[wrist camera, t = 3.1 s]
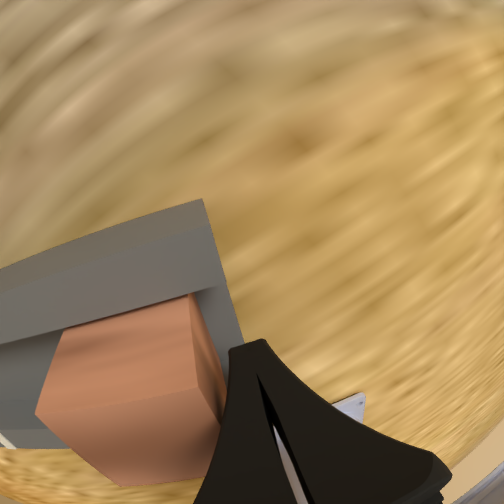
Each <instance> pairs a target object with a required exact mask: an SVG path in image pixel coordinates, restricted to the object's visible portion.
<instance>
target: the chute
mask: <svg viewBox="0 0 504 504" xmlns="http://www.w3.org/2000/svg"><path fill="white" fill-rule="evenodd" d="M192 292H194V294H195V297H196V299H197V302H198V305H199V307H200V310H201V313H202V315H203V318H204V321H205V323H206V326H207V328H208V331H209V334H210V336H211V339H212V341H213V344H214V346H215V349H216V351H217V354H218V356H219V359H220V363H221V368H222V372H223V377H224V381H225V385H226V390H227V386H228V374H229V356H228V351H229V349H230V348H232V347H236V346H239V345H242V344H245V343H244V340H243V337H242V333H241V330H240V327H239V324H238V321H237V317H236V314H235V311H234V308H233V304H232V301H231V298H230V294H229V291H228V288H227V284H226V279H225V275H224V272H223V268H222V265H221V261H220V258H219V254H218V251H217V247H216V244H215V240H214V237H213V233H212V230H211V226H210V223H209V220H208V216H207V213H206V210H205V207H204V204H203V200H202V199H198V200H195V201H191V202H188V203H185V204H181V205H178V206H175V207H171V208H168V209H165V210H162V211H158V212H155V213H152V214H149V215H146V216H143V217H139V218H136V219H133V220H130V221H127V222H124V223H121V224H118V225H115V226H112V227H109V228H106V229H104V230H101V231H98V232H95V233H92V234H89V235H87V236H84V237H81V238H78V239H76V240H73V241H70V242H67V243H65V244H62V245H59V246H57V247H54V248H52V249H49V250H46V251H44V252H41V253H39V254H36V255H34V256H31V257H29V258H26V259H24V260H21V261H19V262H17V263H14V264H12V265H9V266H7V267H5V268H2V269H0V447H6V448H7V449H17V448H26V449H70V447H69V446H67V445H66V444H65V443H64V442H63V441H62V440H61V439H60V438H59V437H57V436H56V435H55V434H54V433H53V432H52V431H51V430H50V429H49V428H48V427H47V426H46V425H45V424H44V423H43V422H42V421H41V420H40V419H39V418H38V417H37V416H36V415H35V410H36V407H37V404H38V400H39V397H40V394H41V391H42V388H43V385H44V382H45V379H46V376H47V373H48V370H49V368H50V365H51V362H52V359H53V357H54V354H55V352H56V349H57V346H58V344H59V341H60V339H61V336H62V334H63V331H64V329H65V328H66V327H70V326H73V325H77V324H81V323H85V322H89V321H92V320H96V319H100V318H103V317H107V316H111V315H114V314H118V313H122V312H125V311H129V310H132V309H136V308H140V307H143V306H147V305H150V304H154V303H157V302H161V301H164V300H168V299H171V298H175V297H178V296H182V295H185V294H189V293H192Z"/></svg>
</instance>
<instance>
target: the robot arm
mask: <svg viewBox="0 0 504 504" xmlns="http://www.w3.org/2000/svg"><path fill="white" fill-rule="evenodd" d="M228 356H229V374H228V386H227V395H226V402H225V408H224V413H223V418H222V424H221V428H220V432H219V436H218V440H217V443H216V447H215V450H214V454H213V457H212V459H211V462H210V465H209V468H208V471H207V474H206V476H205V479H204V481H203V483H202V486H201V488H200V490H199V492H198V494H197V497H196V499H195V501H194V503H193V504H443V503H442V501H443V500H444V497H443V496H442V494H441V493H440V490H441V489H442V488H443V487H444V486H445V485H446V484H447V483H448V482H449V481H450V480H451V478H452V473H451V472H450V470H449V469H448V467H447V466H446V465H445V464H444V463H443V462H442V461H441V460H440V459H439V458H438V457H437V456H436V455H435V454H434V453H432V452H430V451H427V450H424V449H421V448H417V447H414V446H411V445H409V444H406V443H403V442H400V441H398V440H395V439H393V438H391V437H388V436H386V435H383V434H381V433H379V432H377V431H375V430H373V429H371V428H369V427H367V426H366V425H364V424H362V422H363V415H364V407H365V400H366V396H365V394H364V393H357V394H355V395H353V396H351V397H348V398H346V399H344V400H341V401H339V402H337V403H334V404H332V405H331V404H330V403H328V402H327V401H325V400H324V399H323V398H321V397H320V396H319V395H318V394H316V393H315V392H314V391H313V390H311V389H310V388H309V387H308V386H307V385H306V384H304V383H303V382H302V381H301V380H300V379H299V378H298V377H297V376H296V375H295V374H294V373H293V372H292V371H291V370H290V369H289V368H288V367H287V366H286V365H285V364H284V363H283V362H282V361H281V360H280V359H279V357H278V356H277V355H276V354H275V353H274V351H273V350H272V349H271V347H270V346H269V345H268V343H267V341H266V340H264V339H259V340H255V341H252V342H249V343H246V344H242V345H239V346H236V347H232V348H230V349H229V351H228ZM273 425H274V426H273ZM452 504H504V461H503V462H502V463H501V464H500V465H499V466H498V467H496V468H495V469H494V470H493V471H492V472H491V473H490V474H489V475H487V476H486V477H485V478H484V479H483V480H482V481H480V482H479V483H478V484H477V485H475V486H474V487H473V488H472V489H470V490H469V491H468V492H467V493H465V494H464V495H463V496H461V497H460V498H459V499H457V500H456V501H454V502H453V503H452Z"/></svg>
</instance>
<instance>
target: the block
mask: <svg viewBox="0 0 504 504" xmlns="http://www.w3.org/2000/svg"><path fill="white" fill-rule="evenodd" d="M226 395H227V390H226V385H225V381H224V377H223V372H222V368H221V363H220V359H219V356H218V354H217V351H216V349H215V346H214V344H213V341H212V339H211V336H210V334H209V331H208V328H207V326H206V323H205V321H204V318H203V315H202V313H201V310H200V307H199V305H198V302H197V299H196V297H195V294H194V292H192V293H189V294H185V295H182V296H178V297H175V298H171V299H168V300H164V301H161V302H157V303H154V304H150V305H147V306H143V307H140V308H136V309H132V310H129V311H125V312H122V313H118V314H114V315H111V316H107V317H103V318H100V319H96V320H92V321H89V322H85V323H81V324H77V325H73V326H70V327H66V328H65V329H64V331H63V334H62V336H61V339H60V341H59V344H58V346H57V349H56V352H55V354H54V357H53V359H52V362H51V365H50V368H49V370H48V373H47V376H46V379H45V382H44V385H43V388H42V391H41V394H40V397H39V400H38V404H37V407H36V410H35V415H36V416H37V417H38V418H39V419H40V420H41V421H42V422H43V423H44V424H45V425H46V426H47V427H48V428H49V429H50V430H51V431H52V432H53V433H54V434H55V435H56V436H57V437H59V438H60V439H61V440H62V441H63V442H64V443H65V444H66V445H67V446H69V447H70V448H71V449H72V450H73V451H74V452H76V453H77V454H78V455H79V456H80V457H82V458H83V459H84V460H85V461H86V462H88V463H89V464H90V465H91V466H93V467H94V468H95V469H97V470H98V471H99V472H101V473H102V474H103V475H105V476H106V477H107V478H109V479H110V480H112V481H113V482H114V483H116V484H117V485H119V486H137V485H149V484H159V483H167V482H175V481H182V480H188V479H194V478H200V477H205V476H206V474H207V471H208V468H209V465H210V462H211V459H212V457H213V454H214V450H215V447H216V443H217V440H218V436H219V432H220V428H221V424H222V418H223V413H224V408H225V402H226Z"/></svg>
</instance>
